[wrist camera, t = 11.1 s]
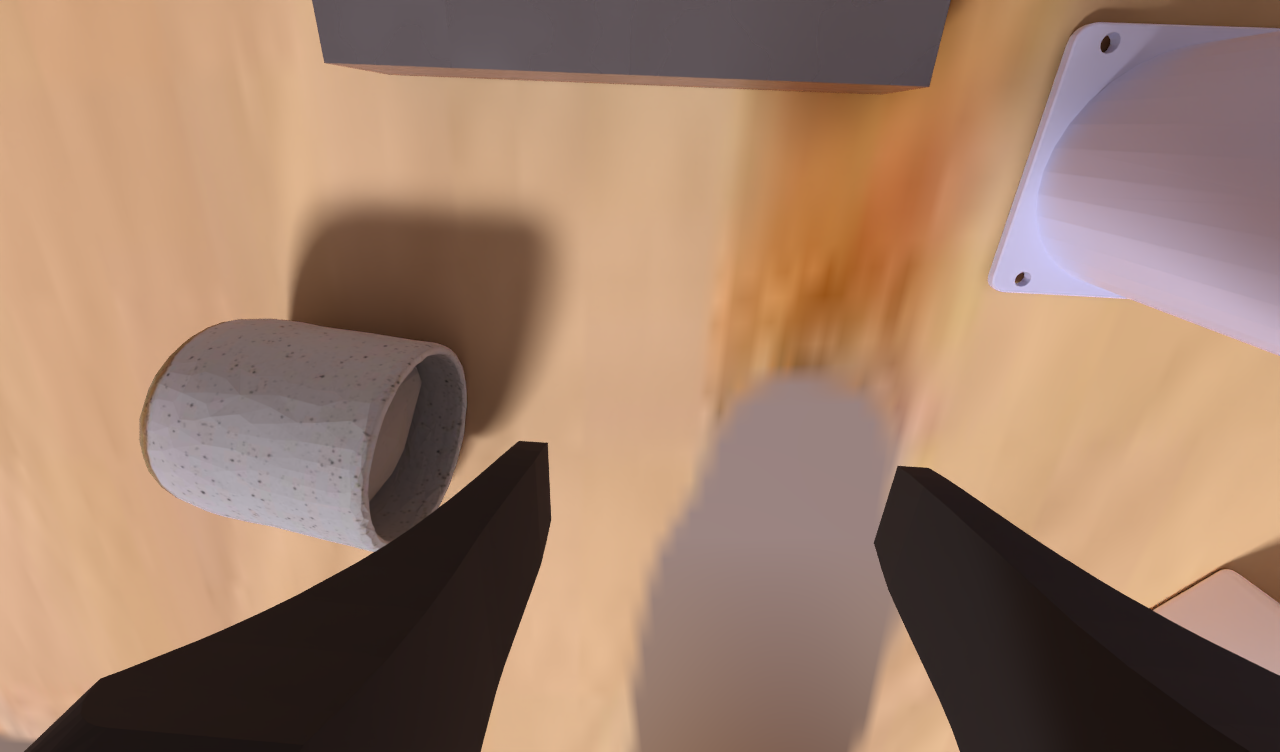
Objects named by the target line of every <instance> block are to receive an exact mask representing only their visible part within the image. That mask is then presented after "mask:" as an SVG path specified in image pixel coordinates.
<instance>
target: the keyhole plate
mask: <svg viewBox="0 0 1280 752" xmlns="http://www.w3.org/2000/svg"><path fill="white" fill-rule="evenodd" d="M950 1H951V0H312V2H313V7H314V12H315V17H316V22H317V27H318V32H319V37H320V43H321V48H322V53H323V58H324V63H328V64H333V65H339V66H344V67H350V68H355V69H361V70H366V71H372V72H377V73H383V74H388V75H410V76H435V77H460V78H485V79H510V80H534V81H559V82H584V83H609V84H634V85H659V86H684V87H708V88H733V89H758V90H783V91H808V92H833V93H858V94H887V93H893V92H899V91H906V90H912V89H918V88H925V87H929V85H930V81H931V77H932V73H933V69H934V65H935V61H936V57H937V53H938V49H939V45H940V41H941V37H942V33H943V29H944V25H945V21H946V17H947V13H948V9H949V5H950Z"/></svg>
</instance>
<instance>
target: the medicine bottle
mask: <svg viewBox="0 0 1280 752" xmlns="http://www.w3.org/2000/svg"><path fill="white" fill-rule="evenodd" d="M1153 611H1154V612H1156V613H1158V614H1160V615H1162V616H1163V617H1165V618H1167V619H1169V620H1171V621H1172V622H1174V623H1176V624H1178V625H1180V626H1182V627H1184V628H1185V629H1187V630H1189V631H1191V632H1193V633H1195V634H1197V635H1199V636H1201V637H1203V638H1205V639H1207V640H1208V641H1210V642H1212V643H1214V644H1216V645H1218V646H1221V647H1223V648H1225V649H1227V650H1229V651H1231V652H1233V653H1235V654H1237V655H1239V656H1241V657H1243V658H1245V659H1247V660H1249V661H1251V662H1253V663H1255V664H1257V665H1259V666H1261V667H1263V668H1265V669H1267V670H1269V671H1271V672H1273V673H1275V674H1278V675H1280V603H1278V602H1277V601H1276V600H1274V599H1273V598H1271V597H1270V596H1269V595H1267V594H1266V593H1265V592H1263V591H1262V590H1260V589H1259V588H1258V587H1256V586H1255V585H1254V584H1252V583H1251V582H1249V581H1248V580H1247V579H1245V578H1244V577H1243V576H1241V575H1240V574H1238V573H1237V572H1235V571H1233V570H1230V569H1222V570H1220V571H1218V572H1216V573H1215V574H1213V575H1211V576H1209V577H1208V578H1206V579H1204V580H1203V581H1201V582H1199V583H1198V584H1196V585H1194V586H1193V587H1191V588H1189V589H1187V590H1186V591H1184V592H1182V593H1181V594H1179V595H1177V596H1176V597H1174V598H1172V599H1171V600H1169V601H1167V602H1166V603H1164V604H1162V605H1160V606H1159V607H1157V608H1155V609H1154V610H1153Z"/></svg>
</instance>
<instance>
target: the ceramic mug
mask: <svg viewBox="0 0 1280 752" xmlns="http://www.w3.org/2000/svg"><path fill="white" fill-rule="evenodd" d="M466 410H467V390H466V381H465V376H464V371H463V366H462V365H461V363H460V361H459V359H458V357H457V355H456V354H455V353H454V352H453V351H452V350H451V349H450V348H448V347H446V346H444V345H441V344H438V343H434V342H426V341H418V340H411V339H405V338H398V337H392V336H386V335H380V334H373V333H366V332H359V331H352V330H345V329H337V328H330V327H324V326H319V325H314V324H309V323H304V322H298V321H288V320H279V319H240V320H233V321H228V322H222V323H219V324H217V325H214V326H211V327H208V328H206V329H205V330H203V331H201V332H199V333H198V334H196V335H194V336H192V337H191V338H189V339H188V340H187V341H186V342H185V343H183V344H182V345H181V346H180V347H179V348H178V349H177V350H176V351H175V352H174V353H173V354H172V355H171V356H170V357H169V358H168V359H167V361H166V362H165V363H164V365H163V366H162V367H161V369H160V370H159V371H158V373H157V374H156V376H155V377H154V379H153V381H152V383H151V385H150V387H149V390H148V393H147V396H146V399H145V403H144V406H143V409H142V413H141V416H140V445H141V449H142V454H143V458H144V461H145V463H146V466H147V468H148V470H149V472H150V474H151V475H152V476H153V477H154V479H155V480H156V481H157V482H158V483H159V485H160V486H161V487H162V488H163V489H165V490H166V491H168V492H169V493H171V494H172V495H174V496H175V497H176V498H179V499H181V500H183V501H185V502H187V503H190V504H192V505H194V506H196V507H199V508H201V509H203V510H205V511H208V512H211V513H214V514H217V515H221V516H225V517H229V518H233V519H237V520H242V521H246V522H251V523H256V524H262V525H267V526H272V527H276V528H280V529H284V530H288V531H292V532H296V533H300V534H304V535H308V536H312V537H315V538H319V539H323V540H327V541H332V542H336V543H340V544H344V545H348V546H352V547H356V548H360V549H364V550H368V551H372V552H375V551H377V550H378V549H380V548H382V547H383V546H385V545H386V544H388V543H390V542H391V541H393V540H394V539H396V538H397V537H399V536H400V535H402V534H403V533H405V532H406V531H408V530H409V529H411V528H412V527H414V526H415V525H416V524H418V523H419V522H420V521H422V520H423V519H424V518H426V517H427V516H428V515H430V514H431V513H432V512H434V511H435V510H436V509H438V507H439V506H440V504H441V502H442V499H443V497H444V495H445V493H446V491H447V489H448V487H449V484H450V482H451V479H452V475H453V472H454V470H455V467H456V464H457V461H458V456H459V453H460V450H461V445H462V441H463V437H464V429H465V417H466Z"/></svg>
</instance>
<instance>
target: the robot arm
mask: <svg viewBox="0 0 1280 752" xmlns="http://www.w3.org/2000/svg"><path fill="white" fill-rule="evenodd" d="M1106 35H1108V36H1109V38H1110V46H1109V47H1108V49H1107V51H1105V52H1104V53H1103V52H1102V51H1101V49H1100V46H1101V42H1102V40H1103V38H1104V37H1105V36H1106ZM1021 272H1024V278H1023V279H1022V280H1021V281H1020V282H1018V283H1015V278H1016V277H1017V275H1018V274H1020V273H1021ZM988 283H989V285H990V286H991V287H992V288H993V289H995V290H997V291H1001V292H1013V293H1031V294H1049V295H1067V296H1085V297H1104V298H1122V299H1131V300H1134V301H1136V302H1139V303H1142V304H1144V305H1147V306H1150V307H1152V308H1155V309H1158V310H1160V311H1163V312H1165V313H1168V314H1171V315H1173V316H1176V317H1179V318H1181V319H1184V320H1186V321H1189V322H1192V323H1194V324H1197V325H1200V326H1202V327H1205V328H1208V329H1210V330H1213V331H1215V332H1218V333H1221V334H1223V335H1226V336H1229V337H1231V338H1234V339H1236V340H1239V341H1242V342H1244V343H1247V344H1250V345H1252V346H1255V347H1258V348H1260V349H1263V350H1265V351H1268V352H1271V353H1273V354H1276V355H1279V356H1280V28H1258V27H1228V26H1199V25H1170V24H1140V23H1111V22H1097V23H1091V24H1087V25H1084V26H1082V27H1080V28H1078V29H1077V30H1076V31H1075V32H1074V33H1073V34H1072V35H1071V36H1070V38H1069V40H1068V42H1067V45H1066V47H1065V50H1064V53H1063V56H1062V59H1061V62H1060V65H1059V68H1058V71H1057V74H1056V77H1055V80H1054V83H1053V86H1052V89H1051V92H1050V95H1049V98H1048V101H1047V104H1046V106H1045V109H1044V112H1043V115H1042V118H1041V121H1040V124H1039V127H1038V130H1037V133H1036V136H1035V139H1034V142H1033V145H1032V148H1031V151H1030V154H1029V157H1028V160H1027V162H1026V165H1025V168H1024V171H1023V174H1022V177H1021V180H1020V183H1019V186H1018V189H1017V192H1016V195H1015V198H1014V201H1013V204H1012V207H1011V210H1010V213H1009V216H1008V218H1007V221H1006V224H1005V227H1004V230H1003V233H1002V236H1001V239H1000V242H999V245H998V248H997V251H996V254H995V257H994V260H993V263H992V266H991V269H990V272H989V275H988ZM550 523H551V505H550V484H549V462H548V443H541V442H525V441H518V442H517V443H516V444H515V445H514V446H512V447H511V448H510V449H509V450H508V451H506V452H505V453H504V454H503V455H502V456H501V457H499V458H498V459H497V460H496V461H495V462H494V463H493V464H491V465H490V466H489V467H488V468H487V469H486V470H485V471H483V472H482V473H481V474H480V475H479V476H478V477H476V478H475V479H474V480H473V481H472V482H470V483H469V484H468V485H467V486H466V487H464V488H463V489H462V490H461V491H459V492H458V493H457V494H456V495H455V496H453V497H452V498H451V499H450V500H448V501H447V502H446V503H444V504H443V505H442V506H440V507H439V508H438V509H436V510H435V511H434V512H432V513H431V514H430V515H428V516H427V517H426V518H424V519H423V520H422V521H420V522H419V523H418V524H416V525H415V526H414V527H412V528H411V529H409V530H408V531H406V532H405V533H403V534H402V535H400V536H399V537H397V538H396V539H394V540H393V541H391V542H390V543H388V544H386V545H385V546H383V547H382V548H380V549H378V550H377V551H375V552H374V553H372V554H370V555H369V556H367V557H366V558H364V559H362V560H361V561H359V562H357V563H356V564H354V565H352V566H350V567H348V568H346V569H345V570H343V571H341V572H339V573H337V574H335V575H334V576H332V577H330V578H328V579H326V580H324V581H323V582H321V583H319V584H317V585H315V586H313V587H311V588H310V589H308V590H306V591H304V592H302V593H300V594H298V595H296V596H294V597H292V598H291V599H288V600H286V601H284V602H282V603H280V604H278V605H276V606H274V607H272V608H270V609H268V610H266V611H264V612H262V613H259V614H257V615H255V616H253V617H251V618H248V619H246V620H244V621H242V622H240V623H237V624H235V625H233V626H231V627H228V628H226V629H224V630H222V631H219V632H217V633H215V634H212V635H210V636H208V637H205V638H203V639H201V640H198V641H196V642H193V643H191V644H188V645H186V646H183V647H181V648H178V649H176V650H173V651H171V652H168V653H166V654H163V655H161V656H158V657H155V658H153V659H150V660H148V661H145V662H143V663H140V664H138V665H135V666H133V667H130V668H128V669H125V670H123V671H120V672H117V673H115V674H112V675H109V676H106V677H104V678H101V679H100V680H99V681H97V682H96V683H95V684H94V685H93V686H92V687H91V688H90V689H89V690H88V691H87V692H86V693H85V694H84V695H83V696H82V697H80V698H79V699H78V700H77V701H76V702H75V703H74V704H73V705H72V706H71V707H70V708H69V709H68V710H67V711H66V712H65V713H64V714H63V715H62V716H61V717H60V718H59V719H58V720H57V721H55V722H54V723H53V724H52V725H51V726H50V727H49V728H48V729H47V730H46V731H45V732H44V733H43V734H42V735H41V736H40V737H39V738H38V739H37V740H36V741H35V742H34V743H33V744H32V745H31V746H29V747H28V748H27V749H26V750H25V751H24V752H481V748H482V744H483V740H484V736H485V732H486V729H487V725H488V721H489V717H490V713H491V710H492V706H493V702H494V698H495V694H496V691H497V687H498V684H499V681H500V678H501V675H502V672H503V668H504V665H505V663H506V660H507V657H508V654H509V652H510V649H511V646H512V643H513V641H514V638H515V635H516V632H517V630H518V627H519V624H520V621H521V619H522V616H523V613H524V610H525V608H526V605H527V602H528V599H529V597H530V594H531V591H532V588H533V585H534V583H535V580H536V577H537V574H538V571H539V568H540V565H541V562H542V558H543V554H544V550H545V545H546V541H547V536H548V532H549V527H550ZM874 544H875V548H876V551H877V555H878V558H879V562H880V565H881V569H882V572H883V574H884V578H885V581H886V584H887V587H888V590H889V592H890V594H891V596H892V599H893V601H894V603H895V605H896V608H897V610H898V612H899V614H900V616H901V619H902V621H903V623H904V625H905V627H906V629H907V632H908V634H909V636H910V638H911V640H912V642H913V644H914V646H915V649H916V651H917V653H918V655H919V657H920V659H921V661H922V663H923V666H924V668H925V670H926V672H927V674H928V676H929V678H930V681H931V683H932V685H933V687H934V689H935V691H936V693H937V695H938V698H939V700H940V702H941V704H942V707H943V709H944V711H945V714H946V716H947V719H948V721H949V723H950V726H951V728H952V731H953V733H954V736H955V739H956V742H957V745H958V747H959V750H960V752H1280V675H1278V674H1275V673H1273V672H1271V671H1269V670H1267V669H1265V668H1263V667H1261V666H1259V665H1257V664H1255V663H1253V662H1251V661H1249V660H1247V659H1245V658H1243V657H1241V656H1239V655H1237V654H1235V653H1233V652H1231V651H1229V650H1227V649H1225V648H1223V647H1221V646H1218V645H1216V644H1214V643H1212V642H1210V641H1208V640H1207V639H1205V638H1203V637H1201V636H1199V635H1197V634H1195V633H1193V632H1191V631H1189V630H1187V629H1185V628H1184V627H1182V626H1180V625H1178V624H1176V623H1174V622H1172V621H1171V620H1169V619H1167V618H1165V617H1163V616H1162V615H1160V614H1158V613H1156V612H1154V611H1153V610H1151V609H1149V608H1147V607H1145V606H1144V605H1142V604H1140V603H1138V602H1136V601H1135V600H1133V599H1131V598H1129V597H1127V596H1126V595H1124V594H1122V593H1120V592H1119V591H1117V590H1115V589H1114V588H1112V587H1110V586H1109V585H1107V584H1105V583H1104V582H1102V581H1100V580H1099V579H1097V578H1095V577H1094V576H1092V575H1091V574H1089V573H1087V572H1086V571H1084V570H1083V569H1081V568H1079V567H1078V566H1076V565H1075V564H1073V563H1071V562H1070V561H1068V560H1067V559H1065V558H1063V557H1062V556H1060V555H1059V554H1057V553H1055V552H1054V551H1052V550H1051V549H1049V548H1048V547H1046V546H1045V545H1043V544H1042V543H1040V542H1039V541H1037V540H1036V539H1034V538H1033V537H1031V536H1030V535H1028V534H1027V533H1025V532H1024V531H1022V530H1021V529H1019V528H1018V527H1016V526H1015V525H1013V524H1012V523H1010V522H1009V521H1008V520H1006V519H1005V518H1003V517H1002V516H1000V515H999V514H997V513H996V512H994V511H993V510H992V509H990V508H989V507H987V506H986V505H984V504H983V503H981V502H980V501H979V500H977V499H976V498H974V497H973V496H971V495H970V494H968V493H967V492H965V491H964V490H963V489H961V488H960V487H958V486H957V485H955V484H954V483H952V482H951V481H949V480H947V479H946V478H944V477H943V476H941V475H940V474H938V473H936V472H934V471H933V470H931V469H929V468H921V467H906V466H898V467H897V470H896V473H895V477H894V480H893V483H892V486H891V489H890V493H889V496H888V499H887V502H886V506H885V509H884V512H883V515H882V518H881V522H880V525H879V528H878V531H877V535H876V538H875V541H874Z"/></svg>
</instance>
